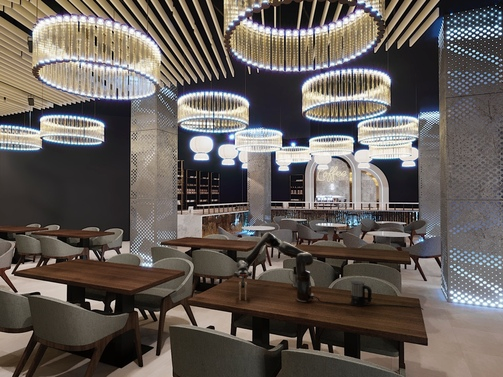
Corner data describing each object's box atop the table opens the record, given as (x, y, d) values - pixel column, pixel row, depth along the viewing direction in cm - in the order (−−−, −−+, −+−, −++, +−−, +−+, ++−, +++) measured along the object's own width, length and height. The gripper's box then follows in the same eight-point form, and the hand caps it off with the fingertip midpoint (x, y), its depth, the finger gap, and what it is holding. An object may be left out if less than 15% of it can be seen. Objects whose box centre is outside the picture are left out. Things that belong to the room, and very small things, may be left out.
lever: (239, 276, 241) (239, 273, 240) (246, 276, 241) (246, 273, 240) (239, 287, 230) (239, 285, 229) (246, 287, 230) (246, 285, 229)
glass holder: (305, 286, 269) (305, 267, 270) (292, 288, 261) (292, 269, 262) (298, 283, 277) (298, 265, 277) (285, 286, 269) (285, 267, 269)
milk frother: (350, 305, 223) (350, 283, 224) (351, 298, 238) (351, 277, 238) (372, 307, 218) (372, 285, 219) (372, 300, 233) (372, 279, 234)
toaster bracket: (237, 298, 235) (237, 280, 236) (248, 298, 236) (248, 280, 236) (236, 303, 225) (237, 284, 226) (248, 303, 226) (248, 284, 226)
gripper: (233, 266, 254) (233, 271, 237) (252, 266, 254) (253, 271, 237) (233, 275, 254) (233, 281, 237) (252, 275, 254) (252, 281, 237)
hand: (243, 276), depth 237 cm, fingers closed on lever, 5 cm apart
